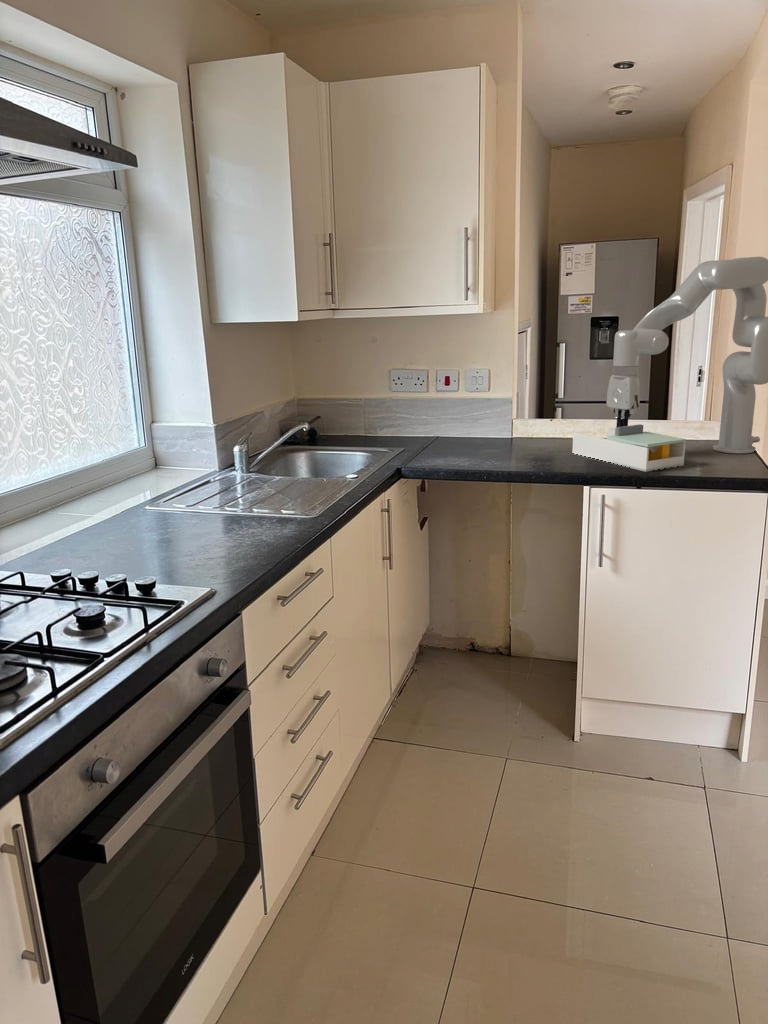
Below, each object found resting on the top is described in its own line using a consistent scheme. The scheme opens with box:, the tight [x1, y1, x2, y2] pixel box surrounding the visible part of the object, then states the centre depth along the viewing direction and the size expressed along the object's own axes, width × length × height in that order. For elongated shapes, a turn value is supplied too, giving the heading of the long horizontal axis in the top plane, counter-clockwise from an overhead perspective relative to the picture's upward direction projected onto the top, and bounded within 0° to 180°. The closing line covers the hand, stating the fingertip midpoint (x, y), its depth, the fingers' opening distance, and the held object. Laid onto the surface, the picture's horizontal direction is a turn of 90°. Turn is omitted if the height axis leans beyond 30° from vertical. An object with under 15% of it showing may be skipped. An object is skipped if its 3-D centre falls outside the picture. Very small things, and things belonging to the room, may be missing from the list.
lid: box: [608, 424, 687, 447], centre depth 236 cm, size 15×16×3 cm
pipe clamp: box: [638, 444, 670, 461], centre depth 237 cm, size 12×4×6 cm, turn 22°
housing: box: [571, 427, 686, 473], centre depth 244 cm, size 15×32×7 cm, turn 27°
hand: (621, 430), depth 245 cm, fingers closed
